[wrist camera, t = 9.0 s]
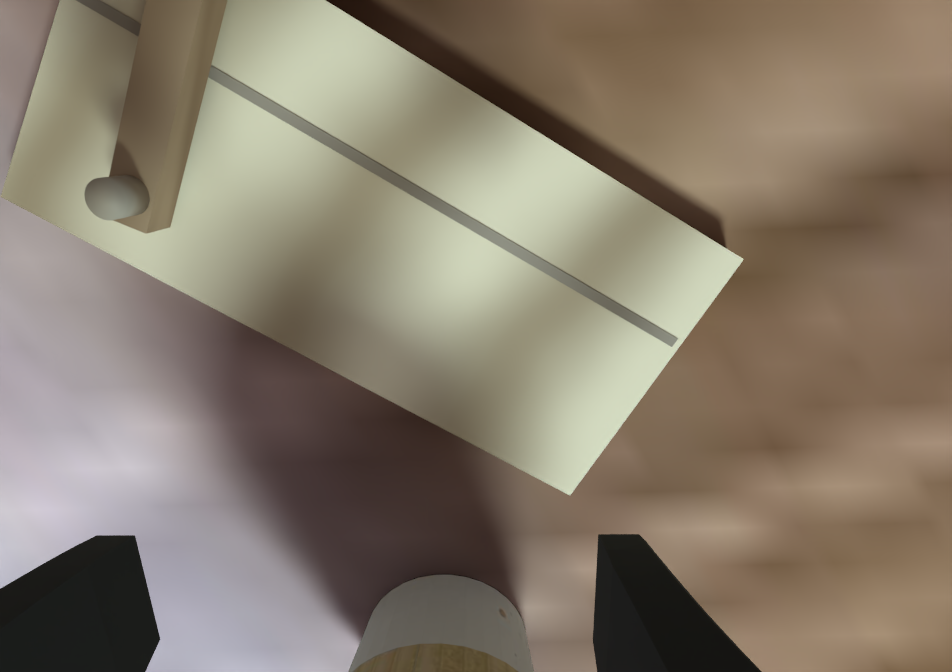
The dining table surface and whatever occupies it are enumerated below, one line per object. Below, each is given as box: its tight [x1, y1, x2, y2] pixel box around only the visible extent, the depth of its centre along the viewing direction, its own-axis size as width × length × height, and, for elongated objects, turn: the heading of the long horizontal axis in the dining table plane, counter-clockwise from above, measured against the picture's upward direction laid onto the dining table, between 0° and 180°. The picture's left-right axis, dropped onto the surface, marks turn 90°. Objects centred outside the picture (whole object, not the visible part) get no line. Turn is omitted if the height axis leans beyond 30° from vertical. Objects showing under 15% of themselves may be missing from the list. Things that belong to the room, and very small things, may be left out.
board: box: [1, 0, 744, 495], centre depth 17 cm, size 19×9×1 cm, turn 60°
